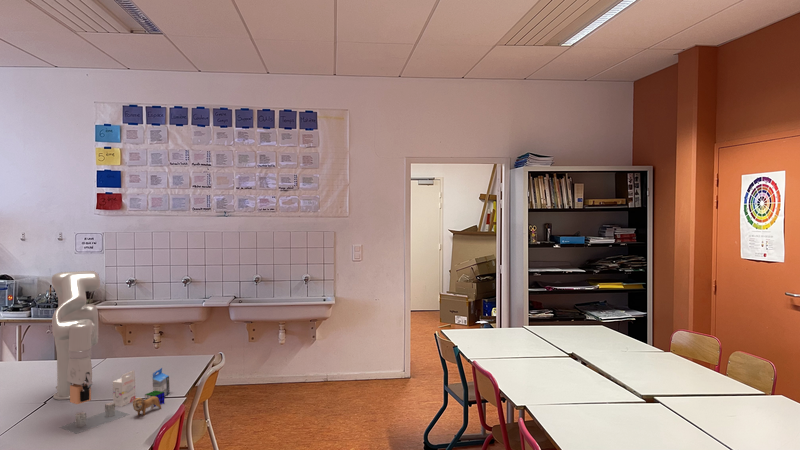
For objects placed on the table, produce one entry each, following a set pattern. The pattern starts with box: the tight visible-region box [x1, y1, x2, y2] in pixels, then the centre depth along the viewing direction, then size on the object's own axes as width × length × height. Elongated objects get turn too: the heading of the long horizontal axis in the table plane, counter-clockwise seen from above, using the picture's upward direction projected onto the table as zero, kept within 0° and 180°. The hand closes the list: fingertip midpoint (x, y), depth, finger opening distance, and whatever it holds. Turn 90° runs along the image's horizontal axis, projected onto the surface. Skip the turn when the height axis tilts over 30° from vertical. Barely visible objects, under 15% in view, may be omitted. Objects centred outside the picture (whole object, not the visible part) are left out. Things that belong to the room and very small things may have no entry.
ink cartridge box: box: [112, 369, 136, 407], centre depth 229 cm, size 9×5×15 cm, turn 168°
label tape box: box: [152, 367, 171, 397], centre depth 240 cm, size 9×4×12 cm, turn 179°
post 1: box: [74, 411, 87, 428], centre depth 204 cm, size 3×3×5 cm
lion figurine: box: [132, 396, 162, 416], centre depth 218 cm, size 15×5×9 cm, turn 164°
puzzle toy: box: [144, 390, 165, 408], centre depth 228 cm, size 6×6×6 cm
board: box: [58, 409, 131, 434], centre depth 209 cm, size 12×22×1 cm, turn 151°
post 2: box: [104, 401, 116, 417], centre depth 214 cm, size 3×3×5 cm
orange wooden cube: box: [69, 381, 92, 405], centre depth 203 cm, size 5×5×7 cm
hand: (80, 398), depth 203 cm, fingers closed on orange wooden cube, 5 cm apart
